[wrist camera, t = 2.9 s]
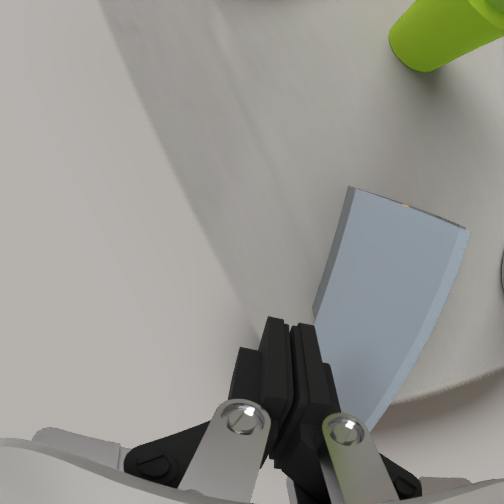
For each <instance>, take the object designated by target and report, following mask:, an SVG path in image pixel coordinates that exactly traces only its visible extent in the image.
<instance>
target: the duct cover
mask: <svg viewBox="0 0 504 504" xmlns="http://www.w3.org/2000/svg"><path fill="white" fill-rule="evenodd" d="M470 234H471V232H468V231H466V230H464V229H462V228H459V227H457V226H455V225H452V224H450V223H448V222H445V221H443V220H440V219H438V218H435V217H433V216H430V215H428V214H425V213H423V212H420V211H418V210H415V209H412V208H410V207H407V206H404V205H402V204H399V203H396V202H393V201H390V200H388V199H385V198H382V197H379V196H376V195H373V194H370V193H367V192H364V191H361V190H358V189H356V191H355V195H354V199H353V202H352V206H351V210H350V213H349V217H348V221H347V224H346V228H345V231H344V235H343V238H342V241H341V245H340V248H339V251H338V255H337V258H336V261H335V264H334V267H333V270H332V273H331V277H330V280H329V283H328V286H327V289H326V292H325V295H324V298H323V300H322V303H321V306H320V309H319V312H318V315H317V317H316V320H315V323H314V326H315V330H316V334H317V339H318V343H319V348H320V353H321V357H322V362H323V363H328V364H330V366H331V370H332V374H333V378H334V382H335V387H336V391H337V395H338V400H339V404H340V407H341V410H342V412H343V413H347V414H350V415H353V416H355V417H357V418H359V419H360V420H361V421H362V422H363V423H364V424H365V425H366V427H367V428H368V430H369V432H370V431H371V430H372V428H373V427H374V426H375V424H376V423H377V422H378V420H379V419H380V417H381V416H382V415H383V413H384V412H385V410H386V409H387V407H388V406H389V404H390V403H391V401H392V400H393V398H394V397H395V395H396V394H397V392H398V391H399V389H400V387H401V386H402V384H403V383H404V381H405V379H406V378H407V376H408V374H409V373H410V371H411V369H412V367H413V366H414V364H415V362H416V360H417V359H418V357H419V355H420V353H421V351H422V349H423V348H424V346H425V344H426V342H427V340H428V338H429V336H430V334H431V332H432V330H433V328H434V326H435V324H436V322H437V320H438V317H439V315H440V313H441V311H442V309H443V306H444V304H445V302H446V300H447V297H448V295H449V292H450V290H451V288H452V285H453V283H454V280H455V278H456V275H457V272H458V270H459V267H460V264H461V261H462V258H463V256H464V253H465V250H466V247H467V244H468V240H469V237H470Z"/></svg>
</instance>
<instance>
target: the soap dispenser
mask: <svg viewBox="0 0 504 504" xmlns="http://www.w3.org/2000/svg"><path fill="white" fill-rule="evenodd" d="M503 36H504V0H416V1H415V2H414V3H413V4H412V6H411V7H410V8H409V9H408V10H407V11H406V12H405V13H404V14H403V15H402V16H401V18H400V19H399V20H398V21H397V22H396V23H395V24H394V25H393V27H392V28H391V30H390V33H389V41H390V45H391V47H392V50H393V51H394V53H395V54H396V56H397V57H398V58H399V59H400V60H401V61H402V62H403V63H404V64H405V65H407V66H408V67H410V68H411V69H413V70H416V71H419V72H431V71H433V70H435V69H437V68H439V67H441V66H443V65H445V64H446V63H448V62H450V61H452V60H454V59H456V58H458V57H460V56H462V55H464V54H466V53H468V52H470V51H473V50H475V49H477V48H479V47H481V46H483V45H485V44H487V43H489V42H492V41H494V40H496V39H498V38H501V37H503Z"/></svg>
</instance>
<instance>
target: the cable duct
mask: <svg viewBox="0 0 504 504" xmlns="http://www.w3.org/2000/svg"><path fill="white" fill-rule="evenodd" d="M358 190H360V189H358ZM355 191H356V188H353V187H350V186H348V190H347V194H346V198H345V202H344V205H343V209H342V213H341V216H340V220H339V224H338V227H337V231H336V234H335V238H334V241H333V244H332V248H331V251H330V254H329V258H328V261H327V264H326V267H325V271H324V274H323V277H322V280H321V283H320V286H319V289H318V292H317V295H316V298H315V301H314V304H313V307H312V308H313V313H314V317H315V320H316V317H317V315H318V312H319V309H320V306H321V303H322V300H323V298H324V295H325V292H326V289H327V286H328V283H329V280H330V277H331V273H332V270H333V267H334V264H335V261H336V258H337V255H338V251H339V248H340V245H341V241H342V238H343V235H344V231H345V228H346V224H347V221H348V217H349V213H350V210H351V206H352V202H353V199H354V195H355ZM361 191H363V190H361ZM364 192H366V191H364ZM367 193H369V192H367ZM370 194H373V193H370ZM373 195H376V194H373ZM376 196H379V195H376ZM379 197H382V196H379ZM382 198H385V197H382ZM385 199H388V198H385ZM388 200H390V201H393V202H396V203H399V204H402V205H404V206H407V207H410V208H412V209H415V210H418V211H420V212H423V213H425V214H428V215H430V216H433V217H435V218H438V219H440V220H443V221H445V222H448V223H450V224H452V225H455V226H457V227H459V228H462V229H464V230H465V229H466V227H463V226H461V225H458V224H456V223H454V222H451V221H449V220H446V219H444V218H442V217H439V216H436V215H434V214H431V213H428V212H426V211H423V210H420V209H417V208H415V207H412V206H409V205H406V204H403V203H400V202H397V201H394V200H391V199H388Z"/></svg>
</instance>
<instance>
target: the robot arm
mask: <svg viewBox="0 0 504 504" xmlns="http://www.w3.org/2000/svg"><path fill="white" fill-rule="evenodd" d="M502 285H503V289H504V256H503V263H502ZM268 454H269V459H273V460H274V468H277V469H282V472H284V473H285V474H286V475H287V476H288V477H287V481H286V482H287V489H288V495H289V500H290V504H504V479H491V480H486V481H481V482H477V483H473V484H472V483H471V482H470V481H469V480H467V479H464V478H435V477H420V478H419V479H417V478H416V477H415V476H414V475H413V474H411V473H410V472H408V471H407V470H405V469H403V468H402V467H400V466H399V465H397V464H396V463H394V462H392V461H391V460H389V459H388V458H386V457H385V456H383V455H382V454H380V453H379V452H378V450H377V448H376V445H375V443H374V441H373V439H372V437H371V434H370V432H369V430H368V428H367V427H366V425H365V424H364V423H363V422H362V421H361V420H360V419H359V418H357V417H355V416H353V415H350V414H347V413H341V409H340V404H339V400H338V395H337V391H336V387H335V382H334V378H333V374H332V370H331V366H330V364H328V363H323V362H322V357H321V353H320V348H319V343H318V339H317V334H316V330H315V326H313V325H308V324H303V323H298V325H297V326H292V327H291V330H290V333H289V325H288V324H284V320H283V319H279V318H274V317H269V316H268V318H267V321H266V325H265V328H264V332H263V335H262V339H261V342H260V346H259V349H258V351H257V350H252V349H248V348H243V347H240V349H239V352H238V356H237V360H236V364H235V369H234V372H233V377H232V381H231V386H230V391H229V396H228V400H227V401H225V402H223V403H222V404H220V405H219V407H218V408H217V409H216V411H215V413H214V415H213V417H212V419H211V420H210V421H208V422H205V423H203V424H200V425H198V426H195V427H192V428H190V429H187V430H184V431H182V432H179V433H176V434H173V435H170V436H168V437H164V438H162V439H158V440H155V441H153V442H149V443H146V444H143V445H140V446H137V447H135V448H133V449H129V448H124V447H121V446H120V444H119V443H114V442H108V441H104V440H100V439H95V438H91V437H87V436H83V435H79V434H76V433H72V432H68V431H65V430H61V429H58V428H52V427H49V428H43V429H41V430H40V431H38V432H37V433H36V434H35V435H34V437H33V439H32V441H30V440H24V439H16V438H0V504H253V503H250V500H251V497H252V493H253V490H254V486H255V483H256V479H257V476H258V472H259V469H261V467H262V465H263V464H264V462H265V460H266V458H267V456H268Z"/></svg>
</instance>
